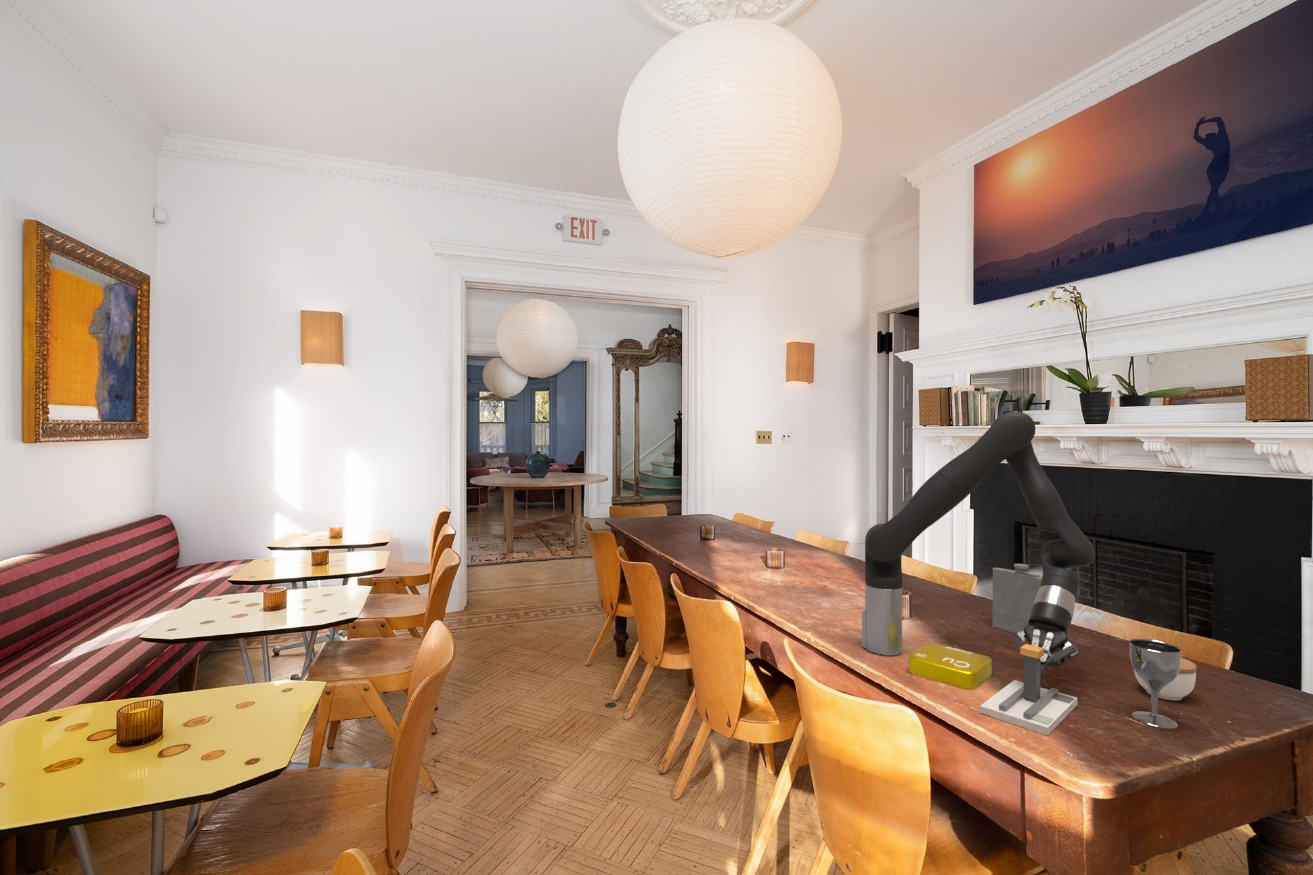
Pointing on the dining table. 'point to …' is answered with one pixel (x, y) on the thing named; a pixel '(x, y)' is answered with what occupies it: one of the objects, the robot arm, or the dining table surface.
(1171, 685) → the lidded jar
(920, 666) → the element tile
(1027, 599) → the hip flask
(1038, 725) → the switch panel
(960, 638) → the dining table surface
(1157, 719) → the wine glass
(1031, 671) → the lever
